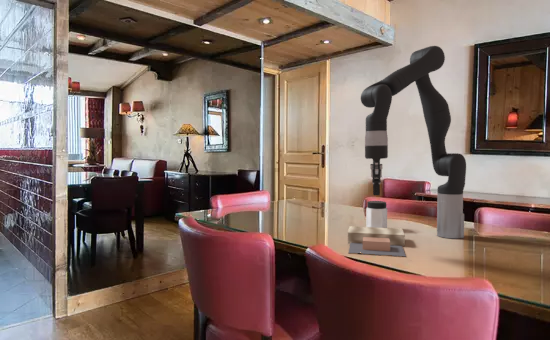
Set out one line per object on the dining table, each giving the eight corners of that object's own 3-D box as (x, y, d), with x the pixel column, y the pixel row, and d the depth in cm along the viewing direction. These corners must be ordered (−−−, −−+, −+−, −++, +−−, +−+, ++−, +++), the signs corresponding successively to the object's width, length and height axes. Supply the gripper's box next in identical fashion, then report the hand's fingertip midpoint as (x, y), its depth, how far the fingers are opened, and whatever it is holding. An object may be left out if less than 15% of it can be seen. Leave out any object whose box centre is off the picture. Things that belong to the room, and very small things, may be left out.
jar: (379, 231, 153) (379, 203, 153) (363, 228, 159) (363, 202, 159) (390, 228, 160) (390, 201, 159) (373, 226, 166) (374, 200, 165)
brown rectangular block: (390, 242, 120) (390, 251, 121) (389, 238, 126) (389, 246, 126) (362, 240, 123) (362, 249, 123) (362, 237, 128) (362, 245, 129)
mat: (401, 246, 128) (401, 245, 128) (405, 257, 114) (405, 256, 114) (350, 243, 133) (350, 242, 133) (348, 253, 119) (348, 252, 119)
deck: (401, 238, 140) (401, 228, 140) (404, 246, 128) (404, 235, 128) (349, 236, 145) (349, 226, 145) (347, 243, 133) (347, 232, 133)
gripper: (388, 144, 115) (388, 197, 116) (386, 144, 128) (386, 193, 129) (364, 144, 117) (365, 197, 118) (365, 145, 130) (365, 192, 131)
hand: (376, 195), depth 123 cm, fingers closed
